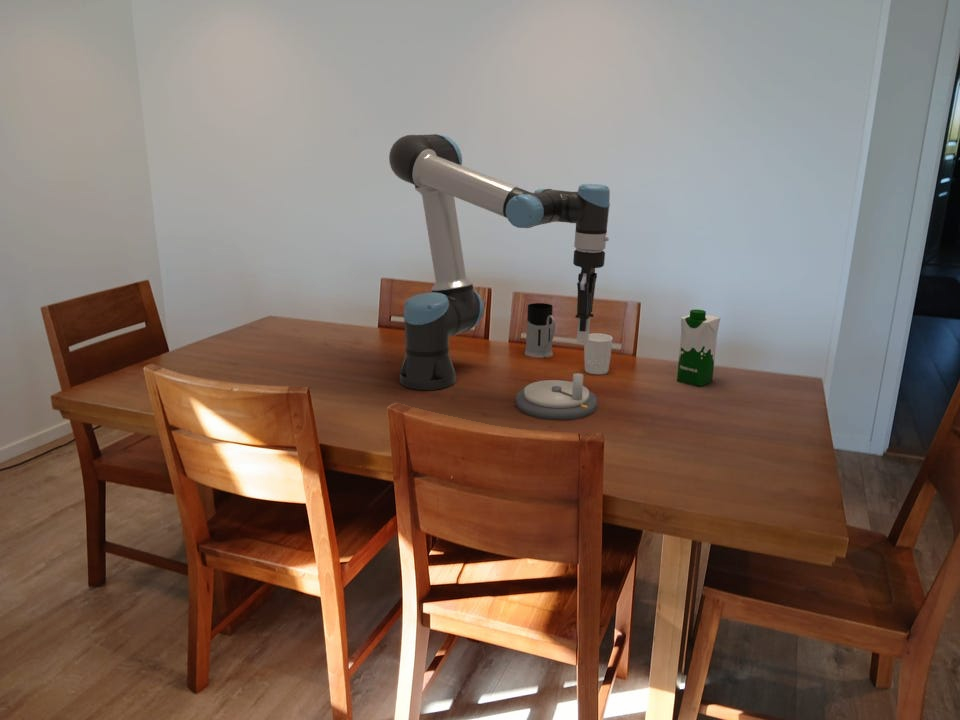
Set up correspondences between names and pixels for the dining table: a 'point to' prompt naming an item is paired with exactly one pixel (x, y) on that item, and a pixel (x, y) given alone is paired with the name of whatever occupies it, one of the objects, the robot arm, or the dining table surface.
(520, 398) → the stand base
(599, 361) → the white cup
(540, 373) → the dining table surface
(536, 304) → the glass holder
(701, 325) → the milk carton
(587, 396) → the cream crank wheel
